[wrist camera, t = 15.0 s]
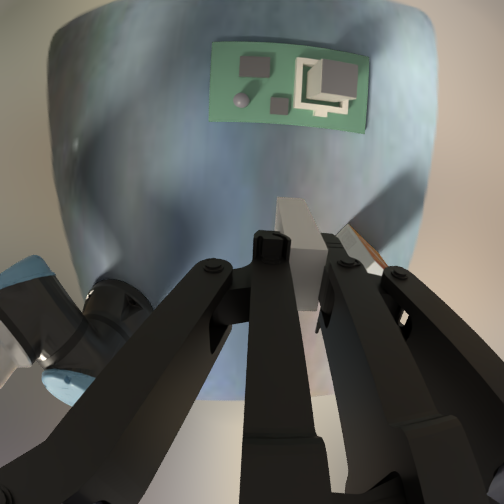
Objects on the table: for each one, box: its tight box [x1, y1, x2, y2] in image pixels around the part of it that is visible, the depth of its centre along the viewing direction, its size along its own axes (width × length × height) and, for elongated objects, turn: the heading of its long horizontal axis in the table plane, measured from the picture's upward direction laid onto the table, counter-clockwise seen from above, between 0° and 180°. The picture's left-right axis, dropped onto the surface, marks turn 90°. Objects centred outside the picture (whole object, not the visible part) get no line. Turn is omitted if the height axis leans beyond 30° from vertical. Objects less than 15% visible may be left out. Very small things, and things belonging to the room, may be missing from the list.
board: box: [209, 42, 369, 134], centre depth 34 cm, size 22×12×4 cm, turn 88°
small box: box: [336, 224, 388, 276], centre depth 40 cm, size 8×6×13 cm
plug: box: [306, 59, 358, 102], centre depth 29 cm, size 4×4×10 cm
